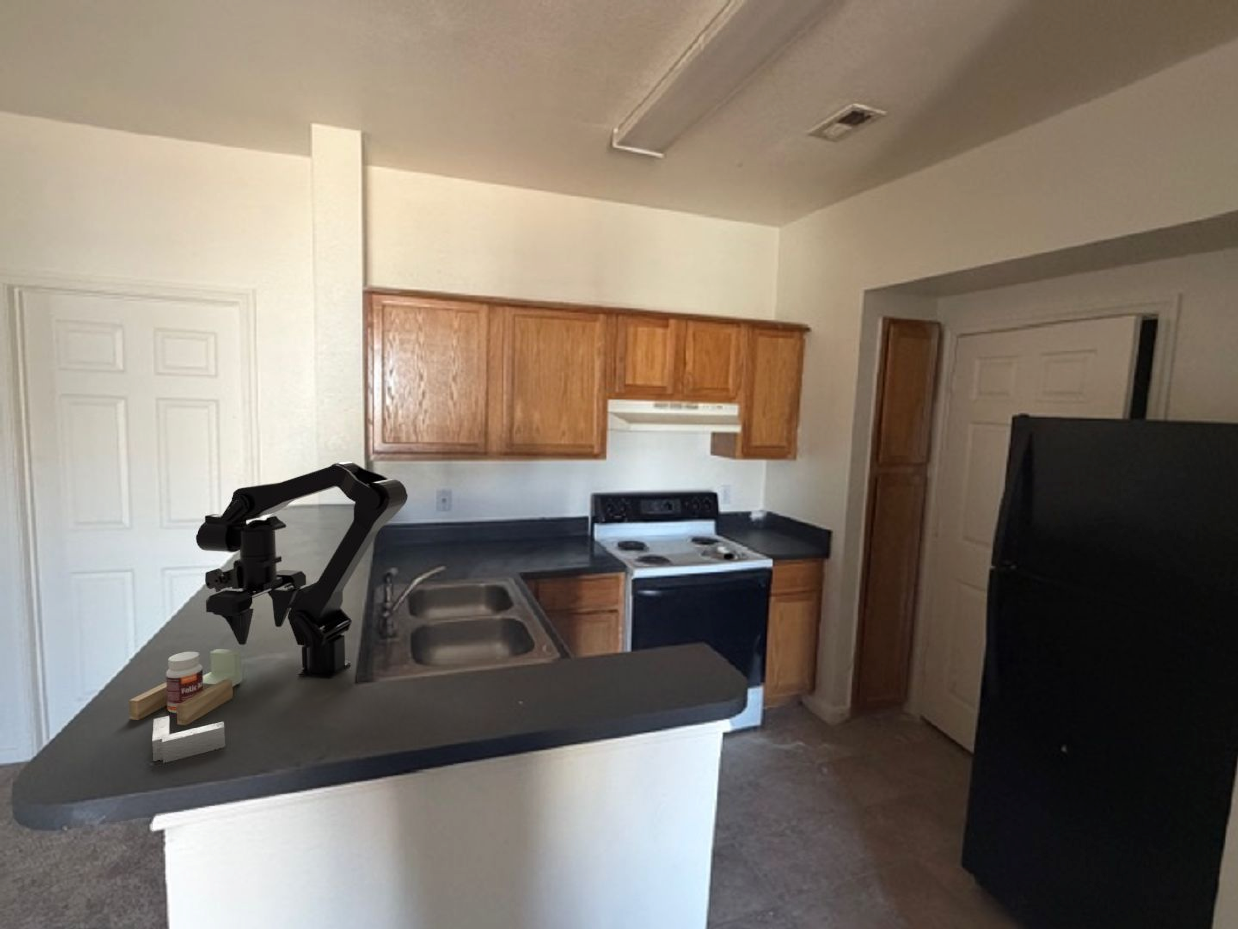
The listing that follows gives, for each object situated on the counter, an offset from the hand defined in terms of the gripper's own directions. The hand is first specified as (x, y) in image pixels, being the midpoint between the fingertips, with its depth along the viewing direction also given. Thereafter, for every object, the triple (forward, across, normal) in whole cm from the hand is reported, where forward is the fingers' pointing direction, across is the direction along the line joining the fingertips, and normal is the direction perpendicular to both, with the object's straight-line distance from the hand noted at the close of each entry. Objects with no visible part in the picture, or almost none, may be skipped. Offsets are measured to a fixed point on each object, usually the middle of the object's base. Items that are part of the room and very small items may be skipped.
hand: (261, 635), depth 112 cm
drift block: (+5, +10, 0) cm, 12 cm away
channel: (+6, +17, 0) cm, 18 cm away
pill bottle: (+6, +16, 0) cm, 18 cm away
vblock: (+6, +28, +9) cm, 30 cm away
